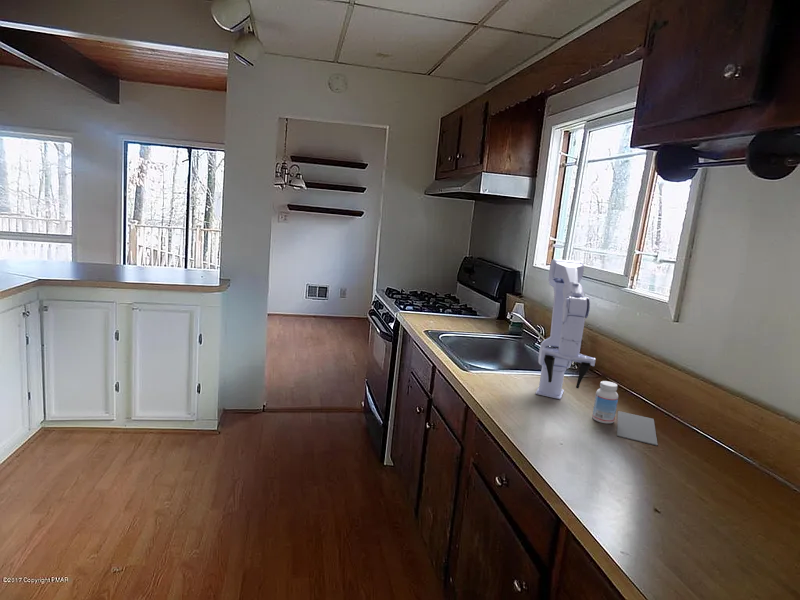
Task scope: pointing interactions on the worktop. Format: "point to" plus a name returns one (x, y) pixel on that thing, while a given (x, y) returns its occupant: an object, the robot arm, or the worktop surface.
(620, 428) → the mat
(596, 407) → the pill bottle
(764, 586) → the worktop surface
